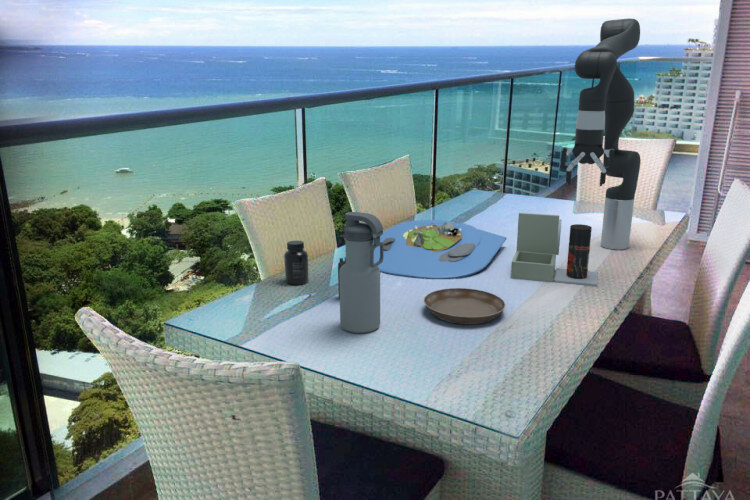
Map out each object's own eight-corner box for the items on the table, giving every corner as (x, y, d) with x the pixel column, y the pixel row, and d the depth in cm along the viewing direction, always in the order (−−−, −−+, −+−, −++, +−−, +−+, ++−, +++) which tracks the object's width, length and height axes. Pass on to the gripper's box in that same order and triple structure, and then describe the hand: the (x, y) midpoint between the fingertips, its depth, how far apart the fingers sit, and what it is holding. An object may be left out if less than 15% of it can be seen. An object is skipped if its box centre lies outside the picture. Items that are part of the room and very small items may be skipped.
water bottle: (388, 322, 157) (388, 211, 149) (371, 337, 148) (370, 221, 141) (351, 316, 161) (349, 208, 153) (333, 330, 153) (330, 216, 145)
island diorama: (465, 304, 183) (465, 265, 178) (338, 279, 203) (335, 243, 198) (513, 246, 219) (514, 212, 214) (401, 229, 239) (400, 198, 234)
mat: (556, 269, 196) (556, 267, 196) (597, 273, 192) (597, 271, 192) (554, 282, 185) (554, 280, 185) (597, 286, 182) (597, 284, 181)
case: (515, 265, 201) (519, 212, 196) (557, 268, 197) (562, 215, 192) (510, 277, 189) (514, 222, 184) (555, 282, 185) (559, 225, 180)
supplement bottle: (312, 279, 188) (311, 240, 185) (302, 286, 182) (301, 246, 179) (291, 276, 191) (290, 238, 187) (281, 284, 184) (279, 244, 181)
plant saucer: (486, 295, 175) (487, 284, 174) (518, 324, 156) (519, 312, 155) (414, 301, 171) (414, 290, 170) (437, 332, 152) (438, 319, 151)
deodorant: (588, 279, 185) (592, 229, 181) (567, 278, 187) (571, 228, 182) (586, 273, 191) (590, 224, 187) (565, 272, 192) (569, 223, 188)
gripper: (617, 126, 178) (611, 183, 182) (564, 125, 182) (559, 181, 187) (617, 129, 171) (611, 188, 175) (562, 127, 175) (558, 185, 180)
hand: (584, 184), depth 181 cm, fingers open, 8 cm apart
